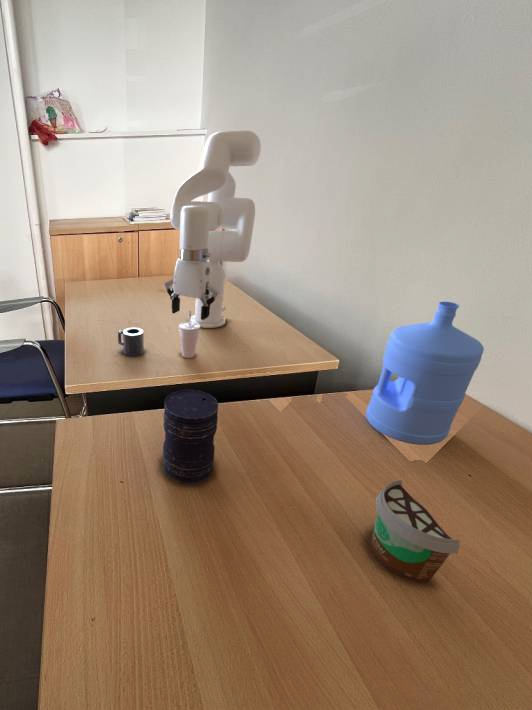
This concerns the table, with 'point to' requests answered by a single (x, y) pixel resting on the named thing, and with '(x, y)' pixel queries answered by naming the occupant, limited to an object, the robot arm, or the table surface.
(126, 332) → the mug
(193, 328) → the smoothie
